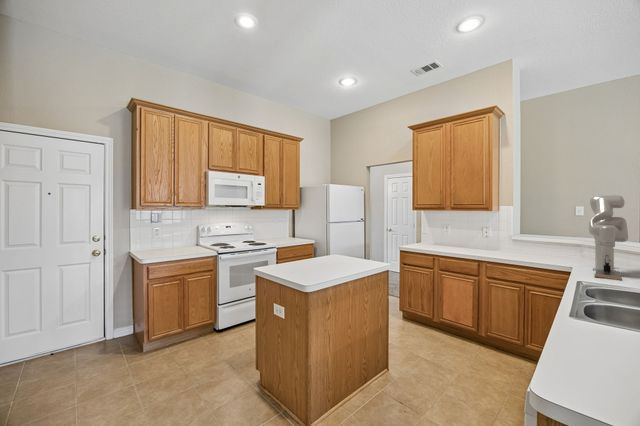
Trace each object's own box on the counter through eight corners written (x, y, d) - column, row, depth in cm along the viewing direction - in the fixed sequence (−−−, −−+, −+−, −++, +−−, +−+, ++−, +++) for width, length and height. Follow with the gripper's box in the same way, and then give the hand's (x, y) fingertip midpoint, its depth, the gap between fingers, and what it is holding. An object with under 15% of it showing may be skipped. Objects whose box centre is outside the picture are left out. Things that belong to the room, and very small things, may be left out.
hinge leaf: (595, 270, 197) (595, 268, 197) (618, 273, 190) (618, 270, 190) (595, 276, 189) (595, 274, 188) (619, 279, 181) (619, 276, 181)
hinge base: (594, 276, 190) (594, 273, 190) (620, 278, 182) (620, 276, 182) (594, 278, 181) (594, 276, 181) (621, 282, 172) (621, 279, 172)
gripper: (599, 242, 200) (599, 268, 201) (599, 245, 189) (599, 272, 189) (614, 243, 195) (614, 269, 196) (615, 246, 184) (615, 274, 184)
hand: (607, 270), depth 193 cm, fingers closed on hinge leaf, 2 cm apart
